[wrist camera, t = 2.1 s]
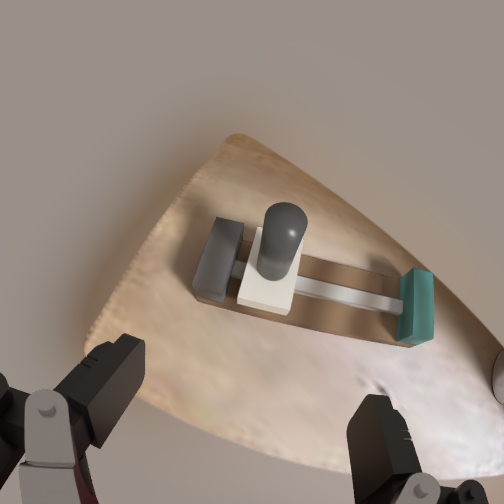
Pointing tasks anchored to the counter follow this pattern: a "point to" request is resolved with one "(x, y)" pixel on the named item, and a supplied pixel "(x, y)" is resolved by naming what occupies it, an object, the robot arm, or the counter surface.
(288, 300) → the carriage
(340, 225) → the counter surface
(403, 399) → the counter surface
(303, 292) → the rail
